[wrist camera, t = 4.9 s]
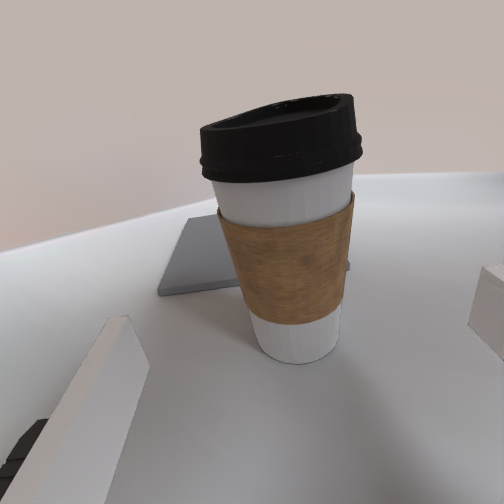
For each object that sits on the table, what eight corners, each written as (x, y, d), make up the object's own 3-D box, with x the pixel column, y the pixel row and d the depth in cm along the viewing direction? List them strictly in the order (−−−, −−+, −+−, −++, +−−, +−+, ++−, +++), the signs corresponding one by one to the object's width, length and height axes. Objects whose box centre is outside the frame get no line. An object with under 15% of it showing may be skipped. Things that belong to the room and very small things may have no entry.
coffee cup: (380, 322, 21) (397, 85, 14) (310, 408, 17) (284, 112, 10) (288, 285, 27) (268, 101, 20) (216, 340, 22) (157, 124, 15)
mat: (310, 205, 44) (310, 200, 43) (349, 270, 28) (349, 262, 27) (189, 223, 44) (188, 218, 44) (159, 296, 28) (157, 289, 28)
